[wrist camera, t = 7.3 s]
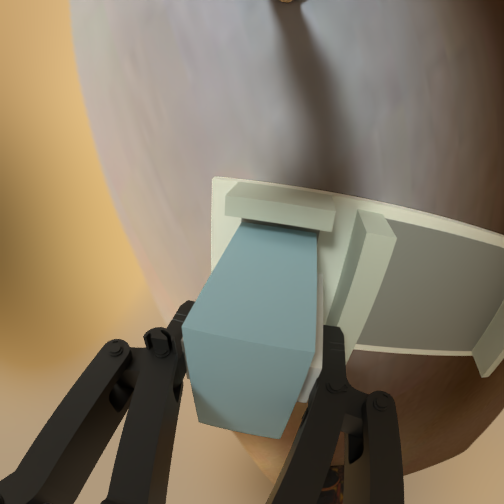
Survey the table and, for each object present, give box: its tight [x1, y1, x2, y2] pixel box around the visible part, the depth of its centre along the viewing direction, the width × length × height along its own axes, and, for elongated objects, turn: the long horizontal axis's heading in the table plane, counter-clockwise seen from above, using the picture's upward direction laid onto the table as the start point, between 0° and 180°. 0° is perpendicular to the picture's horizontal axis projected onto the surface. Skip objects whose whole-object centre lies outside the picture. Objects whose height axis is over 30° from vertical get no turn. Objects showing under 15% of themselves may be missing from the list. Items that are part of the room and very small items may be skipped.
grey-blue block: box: [182, 222, 317, 439], centre depth 13 cm, size 7×4×8 cm, turn 176°
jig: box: [211, 176, 504, 378], centre depth 15 cm, size 11×24×4 cm, turn 86°
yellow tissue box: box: [316, 466, 344, 504], centre depth 32 cm, size 10×10×10 cm
